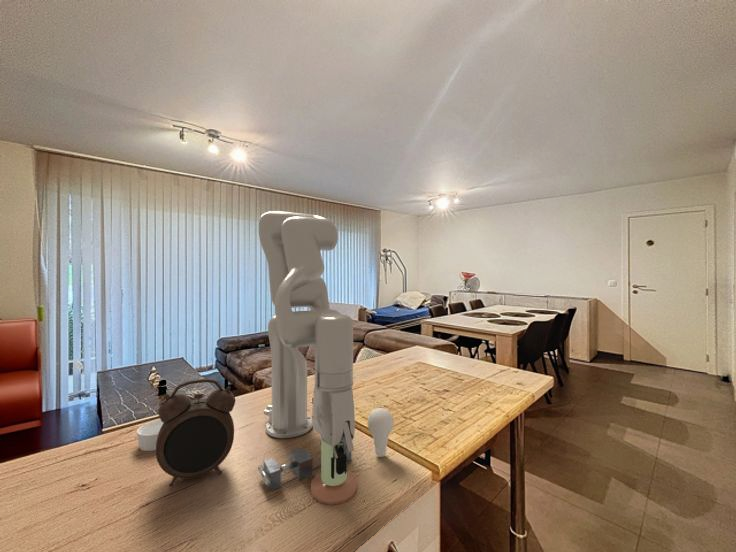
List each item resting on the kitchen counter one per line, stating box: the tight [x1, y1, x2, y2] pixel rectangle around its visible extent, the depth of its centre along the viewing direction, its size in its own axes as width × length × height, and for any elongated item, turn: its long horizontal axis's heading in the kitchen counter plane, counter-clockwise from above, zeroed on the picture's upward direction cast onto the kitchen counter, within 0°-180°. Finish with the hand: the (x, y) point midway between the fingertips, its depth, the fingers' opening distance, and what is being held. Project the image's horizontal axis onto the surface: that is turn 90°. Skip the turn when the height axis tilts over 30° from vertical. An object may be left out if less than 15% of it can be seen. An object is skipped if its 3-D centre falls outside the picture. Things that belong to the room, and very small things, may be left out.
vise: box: [257, 446, 352, 492], centre depth 68 cm, size 6×19×4 cm, turn 124°
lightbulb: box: [367, 407, 395, 458], centre depth 72 cm, size 6×6×11 cm
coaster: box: [310, 470, 358, 505], centre depth 62 cm, size 9×9×1 cm
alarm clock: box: [155, 378, 236, 488], centre depth 65 cm, size 15×7×20 cm, turn 117°
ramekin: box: [136, 418, 164, 452], centre depth 78 cm, size 9×9×4 cm
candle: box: [320, 436, 347, 486], centre depth 62 cm, size 5×5×8 cm
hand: (333, 469), depth 62 cm, fingers closed on candle, 3 cm apart
